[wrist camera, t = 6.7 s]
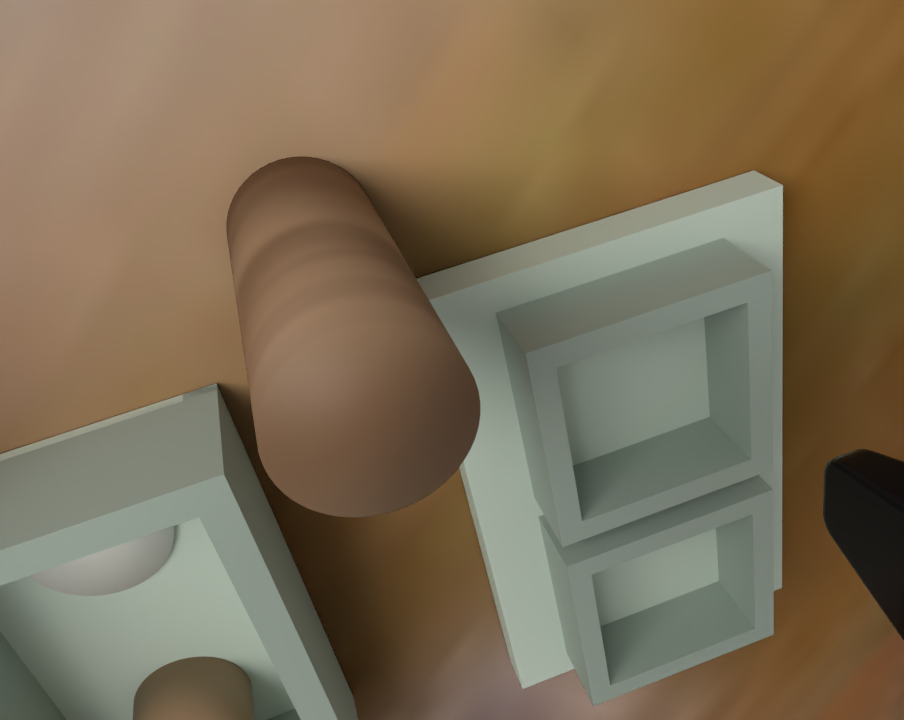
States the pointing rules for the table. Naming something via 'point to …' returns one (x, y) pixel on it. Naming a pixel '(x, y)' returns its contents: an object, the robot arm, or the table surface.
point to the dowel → (342, 347)
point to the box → (154, 579)
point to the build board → (629, 434)
